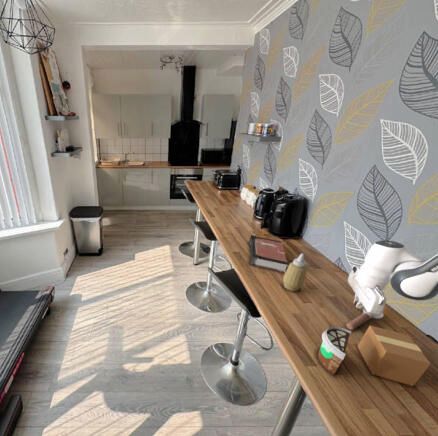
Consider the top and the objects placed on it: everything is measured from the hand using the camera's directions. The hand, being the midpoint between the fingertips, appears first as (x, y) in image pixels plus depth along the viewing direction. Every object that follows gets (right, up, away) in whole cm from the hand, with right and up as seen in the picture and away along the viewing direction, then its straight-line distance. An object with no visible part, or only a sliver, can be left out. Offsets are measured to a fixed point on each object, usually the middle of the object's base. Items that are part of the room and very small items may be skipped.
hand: (357, 306), depth 96 cm
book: (-19, +15, +36) cm, 43 cm away
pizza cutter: (-2, -4, -5) cm, 7 cm away
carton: (-11, -11, -21) cm, 26 cm away
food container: (-28, -10, -20) cm, 36 cm away
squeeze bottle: (-20, +4, +12) cm, 24 cm away
